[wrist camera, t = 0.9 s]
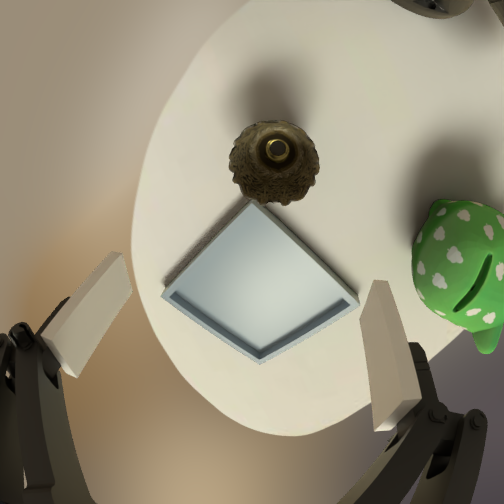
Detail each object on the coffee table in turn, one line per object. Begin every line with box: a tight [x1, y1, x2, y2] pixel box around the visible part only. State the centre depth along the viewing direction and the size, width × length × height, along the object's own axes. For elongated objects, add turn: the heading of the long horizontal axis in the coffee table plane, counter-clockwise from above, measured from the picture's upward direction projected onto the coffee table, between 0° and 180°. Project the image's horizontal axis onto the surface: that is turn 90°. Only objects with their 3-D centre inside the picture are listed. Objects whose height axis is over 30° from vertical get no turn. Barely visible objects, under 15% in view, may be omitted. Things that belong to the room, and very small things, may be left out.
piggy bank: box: [412, 199, 504, 354], centre depth 24 cm, size 14×18×15 cm
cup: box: [229, 120, 320, 206], centre depth 25 cm, size 7×7×8 cm
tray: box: [161, 199, 360, 365], centre depth 38 cm, size 20×20×2 cm
